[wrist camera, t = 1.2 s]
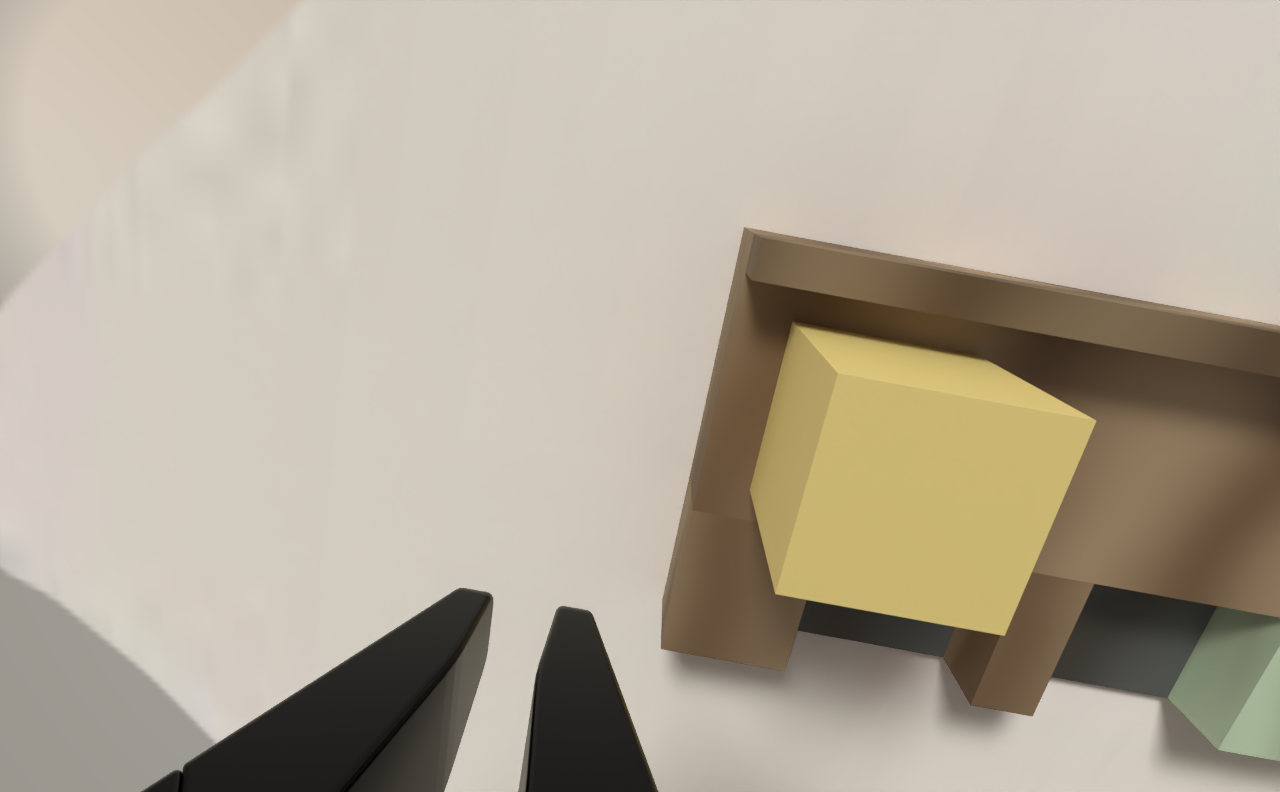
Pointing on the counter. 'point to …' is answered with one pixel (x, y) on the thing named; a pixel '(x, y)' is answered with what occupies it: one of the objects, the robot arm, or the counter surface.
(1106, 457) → the deck
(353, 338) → the counter surface
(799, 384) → the block
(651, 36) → the counter surface
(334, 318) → the counter surface
